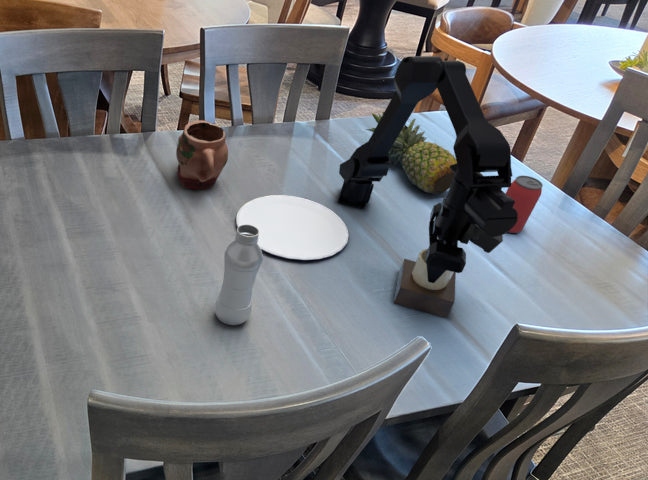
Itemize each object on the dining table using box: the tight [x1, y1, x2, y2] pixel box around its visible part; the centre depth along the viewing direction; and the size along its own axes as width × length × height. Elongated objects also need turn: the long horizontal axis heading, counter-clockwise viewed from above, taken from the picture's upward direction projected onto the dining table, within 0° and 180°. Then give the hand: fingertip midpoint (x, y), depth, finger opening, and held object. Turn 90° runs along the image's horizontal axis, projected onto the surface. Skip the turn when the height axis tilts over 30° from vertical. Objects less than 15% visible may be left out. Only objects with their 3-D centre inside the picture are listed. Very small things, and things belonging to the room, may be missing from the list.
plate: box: [235, 194, 349, 261], centre depth 141 cm, size 25×25×1 cm
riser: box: [393, 258, 457, 318], centre depth 125 cm, size 10×10×4 cm
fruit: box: [364, 111, 457, 195], centre depth 162 cm, size 14×12×30 cm
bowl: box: [412, 248, 453, 290], centre depth 122 cm, size 7×7×5 cm
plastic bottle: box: [214, 225, 264, 326], centre depth 111 cm, size 6×7×20 cm
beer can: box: [505, 175, 544, 234], centre depth 143 cm, size 7×7×12 cm
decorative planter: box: [175, 119, 229, 190], centre depth 150 cm, size 20×12×14 cm, turn 13°
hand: (431, 271), depth 122 cm, fingers closed on bowl, 7 cm apart
